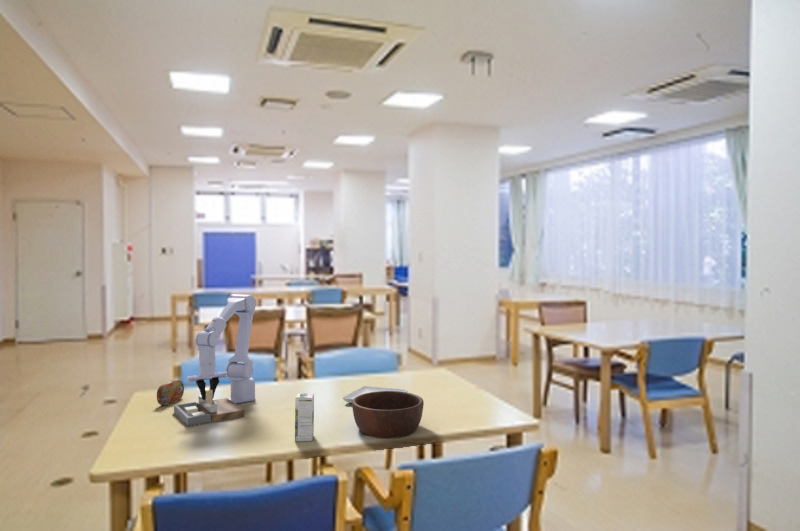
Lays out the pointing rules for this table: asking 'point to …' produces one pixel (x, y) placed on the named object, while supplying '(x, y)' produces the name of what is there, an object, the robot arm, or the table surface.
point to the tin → (170, 392)
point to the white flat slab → (208, 401)
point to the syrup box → (304, 417)
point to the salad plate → (368, 389)
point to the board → (223, 410)
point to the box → (187, 418)
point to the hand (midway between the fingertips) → (207, 398)
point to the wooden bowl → (387, 413)
